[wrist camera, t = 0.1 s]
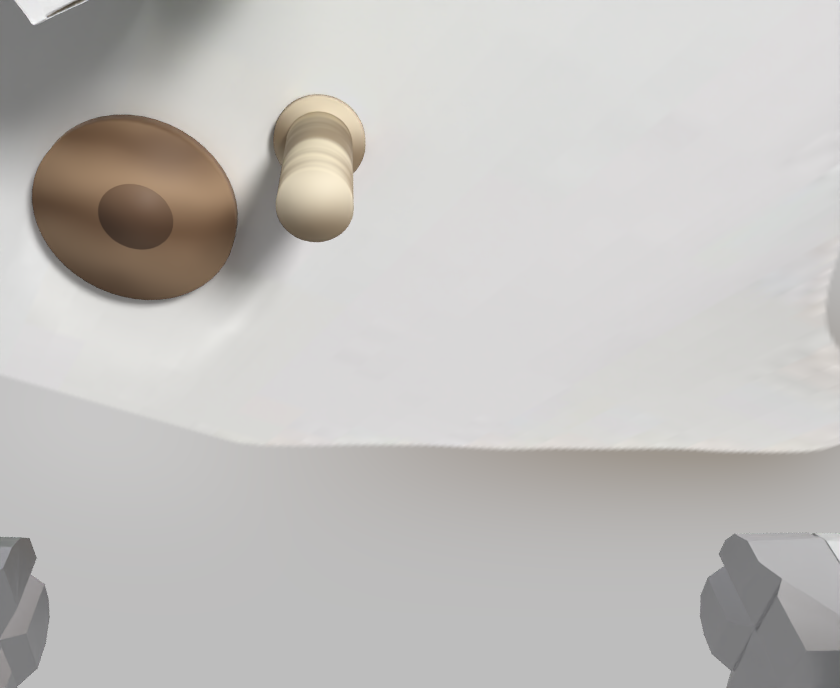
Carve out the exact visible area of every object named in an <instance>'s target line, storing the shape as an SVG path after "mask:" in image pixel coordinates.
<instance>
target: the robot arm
mask: <svg viewBox="0 0 840 688" xmlns="http://www.w3.org/2000/svg"><path fill="white" fill-rule="evenodd" d="M719 555H720V557H721V560H722V562H723V564H724V567H722V568H721V569H719V570H718V571H717V572H715V573H714V574H713V575H711V576H709V577H708V579H707V581H706V584H705V586H704V589H703V591H702V594H701V606H700V618H701V622H702V627H703V631H704V636H705V638H706V640H707V643H708V645H709V648H710V650H711V653H712V654H713V655H714V656H715V657H716V658H717V659H718V660H719V661H721V662H722V663H723V664H724V665H725V666H726V667H728V668H729V669H730V670H731V674H730V677H729V681H728V684H727V688H840V533H813V534H809V533H752V534H734V535H732V536H731V537H729V538H728V539H727V540H725V542H724V544H723V546H722V548H721V551H720V553H719ZM35 560H36V555H35V552H34V550H33V547H32V544H31V541H30V539H29V538H21V537H17V538H16V537H0V688H17V686H18V685H19V684H21V683H22V682H23V681H24V680H25V679H26V678H27V677H28V676H29V675H31V674H32V673H33V672H34V671H35V670H36V669H37V668H38V665H39V662H40V659H41V656H42V653H43V650H44V647H45V644H46V637H47V630H48V624H49V600H48V595H47V592H46V588H45V584H44V583H42V582H41V581H39V580H38V579H37V578H35V577H34V576H32V575H31V571H32V568H33V566H34V564H35Z"/></svg>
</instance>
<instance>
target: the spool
mask: <svg viewBox="0 0 840 688" xmlns="http://www.w3.org/2000/svg"><path fill="white" fill-rule="evenodd" d="M273 143H274V150H275V154H276V156H277V159H278V161H279V162H280V164H281V165H282V168H281V174H280V180H279V186H278V192H277V198H276V212H277V216H278V218H279V221H280V222H281V224H282V225H283V227H284V228H285V229H286V230H287V231H288V232H289V233H290V234H292V235H293V236H295V237H297V238H299V239H302V240H305V241H309V242H323V241H328V240H331V239H333V238H335V237H337V236H338V235H340V234H341V233H342V232H343V231H345V229H346V228H347V227H348V225H349V224H350V222H351V219H352V216H353V210H354V206H353V173H354V172H355V171H356V170H357V168H358V167H359V165H360V163H361V161H362V159H363V156H364V152H365V133H364V129H363V125H362V123H361V121H360V119H359V117H358V116H357V114H356V113H355V112H354V110H353V109H352V108H350V107H349V106H348V105H347V104H346V103H344V102H343V101H341V100H339V99H337V98H334V97H331V96H327V95H308V96H304V97H301V98H299V99H297V100H295V101H293V102H292V103H290V104H289V105H288V106H287V107H286V108H285V109H284V110H283V111H282V113H281V114H280V116H279V118H278V120H277V123H276V126H275V131H274V137H273Z"/></svg>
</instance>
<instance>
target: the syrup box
mask: <svg viewBox="0 0 840 688" xmlns="http://www.w3.org/2000/svg"><path fill="white" fill-rule="evenodd" d="M14 1H15V2H16V4H17V5H18V6H19V7H20V8H21V10H22V11H23V12H24V14H25V15H26V16H27V18H28V19H29V21H30V22H31V24H32V25H33V26H34V25H38V24H40V23H42V22H44V21H46V20H48V19H50V18H52V17H54V16H56V15H58V14H60V13H62V12H65V11H67V10H69V9H71V8H73V7H76V6H78V5H80V4H82V3H84V2H87V1H89V0H14Z"/></svg>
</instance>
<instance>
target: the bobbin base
mask: <svg viewBox="0 0 840 688" xmlns="http://www.w3.org/2000/svg"><path fill="white" fill-rule="evenodd" d="M32 203H33V210H34V215H35V219H36V222H37V225H38V228H39V230H40V232H41V234H42V236H43V238H44V240H45V241H46V243H47V245H48V246H49V248H50V249H51V250H52V252H53V253H54V254H55V256H56V257H57V258H58V259H59V260H60V261H61V262H62V263H63V264H64V265H65V266H66V267H67V268H68V269H70V270H71V271H72V272H73V273H74V274H76V275H77V276H79V277H80V278H82V279H83V280H85V281H86V282H88V283H90V284H92V285H94V286H95V287H97V288H100V289H102V290H104V291H107V292H109V293H112V294H116V295H119V296H123V297H128V298H133V299H143V300H160V299H167V298H173V297H177V296H181V295H184V294H186V293H189V292H192V291H194V290H195V289H197V288H199V287H201V286H203V285H204V284H205V283H207V282H208V281H209V280H211V279H212V278H213V277H214V276H215V275H216V274H217V273H218V272H219V270H220V269H221V268H222V266H223V265H224V264H225V262H226V260H227V258H228V256H229V254H230V252H231V249H232V246H233V242H234V238H235V234H236V228H237V216H238V212H237V204H236V199H235V195H234V192H233V189H232V186H231V184H230V181H229V179H228V177H227V176H226V174H225V172H224V170H223V169H222V167H221V166H220V164H219V163H218V162H217V161H216V159H215V158H214V157H213V156H212V155H211V154H210V153H209V152H208V150H207V149H206V148H205V147H203V146H202V145H201V144H200V143H199V142H197V141H196V140H195V139H194V138H192V137H191V136H189V135H187V134H186V133H184V132H183V131H181V130H179V129H177V128H175V127H173V126H171V125H169V124H166V123H163V122H161V121H158V120H155V119H151V118H147V117H142V116H134V115H110V116H102V117H98V118H95V119H91V120H88V121H86V122H83V123H81V124H79V125H77V126H75V127H74V128H72V129H70V130H69V131H67V132H66V133H65V134H64V135H63V136H61V137H60V138H59V139H58V140H57V141H56V143H55V144H54V145H53V146H52V148H51V149H50V150H49V151H48V153H47V154H46V155H45V156H44V158H43V160H42V161H41V163H40V165H39V167H38V169H37V172H36V175H35V178H34V183H33V189H32Z"/></svg>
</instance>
